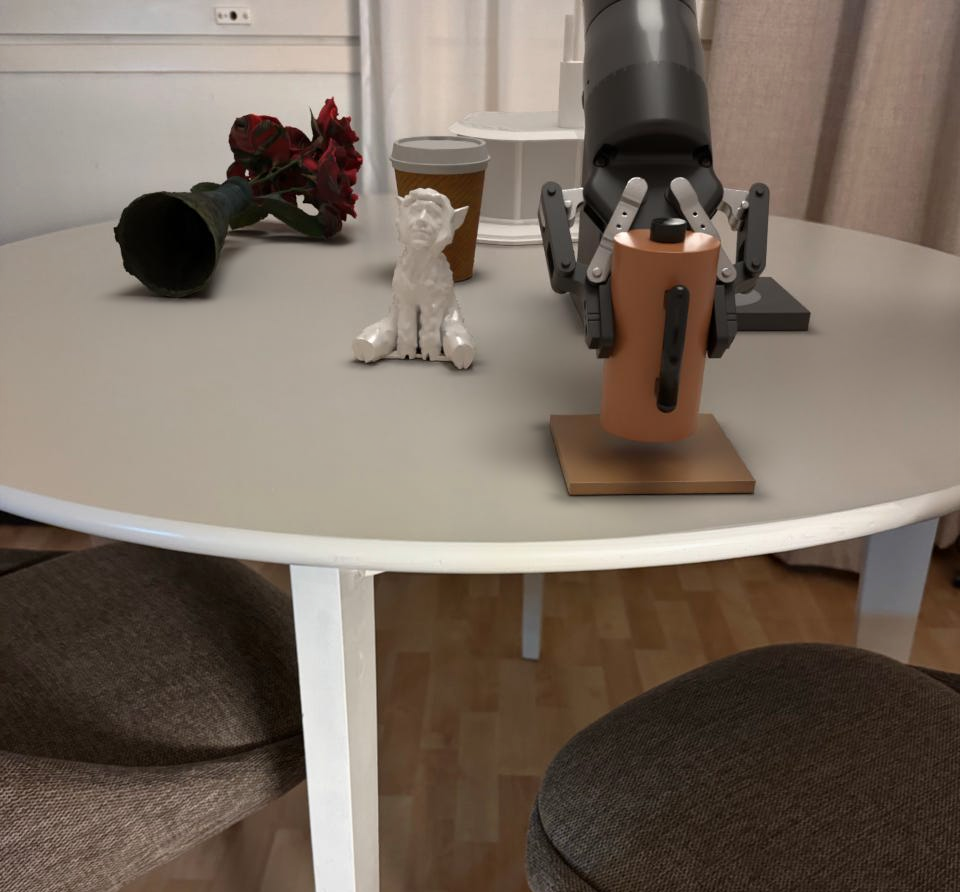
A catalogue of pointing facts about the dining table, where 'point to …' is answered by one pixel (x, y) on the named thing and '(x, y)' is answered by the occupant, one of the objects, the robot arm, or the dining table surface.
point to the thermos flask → (658, 331)
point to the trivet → (647, 460)
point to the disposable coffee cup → (446, 185)
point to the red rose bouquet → (243, 199)
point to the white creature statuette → (422, 289)
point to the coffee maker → (753, 310)
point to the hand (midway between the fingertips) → (662, 351)
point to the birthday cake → (529, 157)
